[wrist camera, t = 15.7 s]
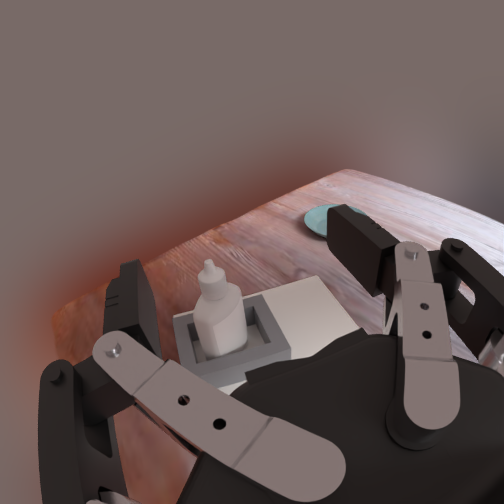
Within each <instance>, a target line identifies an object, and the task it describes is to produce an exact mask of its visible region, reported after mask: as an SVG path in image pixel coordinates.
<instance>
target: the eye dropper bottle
mask: <svg viewBox="0 0 504 504" xmlns="http://www.w3.org/2000/svg"><path fill="white" fill-rule="evenodd" d="M198 281H199V285H200V289H201V293H202V294H201V296H200V297H199V299H198V301H197V303H196V306H195V309H194V313H193V319H194V323H195V327H196V330H197V333H198V336H199V339H200V343H201V346H202V349H203V352H204V354H205V357H206V360H207V361H209V360H212V359H216V358H220V357H223V356H227V355H230V354H234V353H237V352H241V351H244V349H245V347H246V344H247V340H248V332H247V325H246V319H245V312H244V306H243V300H242V294H241V290H240V288H239V287H238V286H237V285H235V284H232V283H229V282H227V281H226V275H225V271H224V270H223V269H222V268H220V267H215V265H214V263H213V261H212V260H211V259H207V260H205V262H204V269H203V270H202V271H201V272H200V273H199V274H198Z"/></svg>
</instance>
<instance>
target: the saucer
mask: <svg viewBox="0 0 504 504" xmlns="http://www.w3.org/2000/svg"><path fill="white" fill-rule="evenodd" d="M334 206H338V204H330V205H322V206H318V207H316V208H313V209H311V210H310V211H308V212H307V213H306V214H305V217H304V222H305V224H306V225H307V226H308V227H309V228H310V229H311V230H312V231H313V232H315V233H317V234H318V235H320V236H323V237H325V238H326V237H327V210H328V208H330V207H334ZM349 207H350V208H351V209H353V210H354V211H355V212H358V213H361V214H363V215H366V214H365V213H364V212H363V211H361V210H359V209H357V208H354V207H351V206H349ZM366 216H367V215H366Z"/></svg>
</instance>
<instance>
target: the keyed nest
mask: <svg viewBox="0 0 504 504" xmlns="http://www.w3.org/2000/svg"><path fill="white" fill-rule="evenodd" d="M242 300H243V306H244V312H245V319H246V325H247V332H248V340H247V344H246V347H245V349H244V351H241V352H237V353H234V354H230V355H227V356H223V357H220V358H216V359H212V360H209V361H207V360H206V357H205V354H204V352H203V349H202V346H201V343H200V339H199V336H198V333H197V330H196V327H195V323H194V319H193V313H194V310H192V311H188V312H184V313H180V314H177V315H173V316H174V318H172V321H173V327H174V333H175V338H176V343H177V349H178V354H179V359H180V364H181V366H182V367H184V368H185V369H187V370H189V371H190V372H192V373H193V374H195V375H196V376H198V377H199V378H201V379H203V380H204V381H206V382H207V383H209V384H211V385H212V386H214V387H216V388H217V389H219V390H221V391H222V392H224V393H226V394H228V395H230V394H231V393H232V392H233V391H234V390H235V389H236V388H238V387H239V386H240V385H242V384H243V383H245V382H246V381H247V380H246V376H245V373H244V372H247V371H250V370H253V369H256V368H259V367H262V366H265V365H268V364H271V363H274V362H278V361H285V360H292V359H299V358H306V357H310V356H313V355H314V354H316V353H317V352H318V351H320V350H321V349H323V348H324V347H325V346H327V345H328V344H330V343H331V342H332V341H334V340H335V339H336V338H339V337H341V336H344V335H346V334H348V333H351V332H353V331H355V330H357V329H360V328H359V327H358V326H357V325H356V323H355V322H354V321H353V319H352V318H351V317H350V316H349V314H348V313H347V312H346V311H345V309H344V308H343V307H342V306H341V304H340V303H339V302H338V301H337V299H336V298H335V297H334V296H333V294H332V293H331V292H330V291H329V289H328V288H327V287H326V286H325V284H324V283H323V282H322V281H321V279H320V278H319V277H318V276H317V275H315V276H312V277H309V278H305V279H302V280H299V281H295V282H292V283H289V284H285V285H282V286H278V287H275V288H272V289H268V290H265V291H261V292H258V293H254V294H251V295H247V296H244V297H242Z"/></svg>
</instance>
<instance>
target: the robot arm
mask: <svg viewBox="0 0 504 504" xmlns="http://www.w3.org/2000/svg"><path fill="white" fill-rule="evenodd" d="M326 239H327V245H328V247H329V250H330V251H331V252H332V254H333V255H334V256H335V257H336V258H337V259H338V260H339V261H340V262H341V263H342V264H343V265H344V266H345V267H346V268H347V270H348V271H349V272H350V273H351V274H352V275H353V276H354V277H355V278H356V279H357V280H358V282H359V283H360V284H361V285H362V286H363V287H364V288H365V289H366V290H367V291H368V293H369V294H370V295H371V296H372V297H375V296H377V295H380V294H382V293H383V294H384V295H385V298H384V308H383V333H382V334H372V335H368V334H367V333H366V332H365V330H364V329H363V328H360V329H357V330H355V331H353V332H351V333H348V334H346V335H344V336H341V337H339V338H336V339H335V340H334V341H332V342H331V343H330V344H328V345H327V346H325V347H324V348H323V349H321V350H320V351H318V352H317V353H316V354H314V355H313V356H310V357H306V358H299V359H292V360H285V361H278V362H274V363H271V364H268V365H265V366H262V367H259V368H256V369H253V370H250V371H247V372H244V373H245V376H246V380H247V381H246V382H245V383H243V384H242V385H240V386H239V387H238V388H236V389H235V390H234V391H233V392H232V393H231V394H230V395H228V394H226V393H224V392H222V391H221V390H219V389H217V388H216V387H214V386H212V385H211V384H209V383H207V382H206V381H204V380H203V379H201V378H199V377H198V376H196V375H195V374H193V373H192V372H190V371H189V370H187V369H185V368H184V367H182V366H181V365H179V364H178V363H176V362H175V361H173V360H171V359H167V360H166V361H165V362H164V361H163V360H162V354H161V347H160V339H159V332H158V324H157V315H156V306H155V300H154V296H153V292H152V289H151V287H150V285H149V282H148V280H147V277H146V275H145V272H144V270H143V267H142V265H141V262H140V260H139V259H136V260H132V261H129V262H126V263H122V264H121V266H120V277H119V278H116V279H112V281H111V282H110V284H109V286H108V287H107V289H106V301H105V311H104V325H103V336H102V337H100V338H99V339H98V340H97V342H96V343H95V345H94V347H93V353H92V354H93V355H92V356H90V357H89V358H87V359H86V360H84V361H82V362H80V363H78V364H76V365H75V366H72V365H71V363H70V362H68V361H66V360H56V361H54V362H52V363H51V364H49V365H48V366H47V367H46V368H45V370H44V371H43V373H42V376H41V380H40V391H39V410H38V454H39V472H40V483H41V493H42V501H43V504H142V503H140V502H138V501H136V500H134V499H131V498H129V497H128V493H127V489H126V484H125V480H124V475H123V471H122V466H121V461H120V456H119V450H118V445H117V439H116V433H115V426H114V419H113V415H115V414H117V413H118V412H120V411H122V410H124V409H126V408H128V407H129V406H131V405H133V406H134V407H136V408H137V409H138V410H139V411H140V412H141V413H142V414H143V415H145V416H146V417H147V418H148V419H149V420H150V421H152V422H153V423H154V424H155V425H156V426H158V427H159V428H160V429H161V430H162V431H164V432H165V433H166V434H167V435H168V436H170V437H171V438H172V439H173V440H174V441H175V442H177V443H178V444H179V445H180V446H182V447H183V448H184V449H185V450H187V451H188V452H189V453H191V454H192V455H194V456H195V457H196V458H197V460H196V462H195V465H194V467H193V469H192V471H191V473H190V475H189V478H188V480H187V482H186V484H185V486H184V488H183V491H182V493H181V495H180V497H179V499H178V501H177V503H176V504H504V276H503V275H501V274H500V273H499V272H498V271H497V270H496V269H495V268H494V267H493V266H492V265H490V264H489V263H488V262H487V261H486V260H485V259H484V258H482V257H481V256H480V255H479V254H478V253H477V252H475V251H474V250H473V249H472V248H471V247H469V246H468V245H467V244H466V243H464V242H463V241H461V240H458V239H454V238H447V239H445V240H443V241H442V244H441V248H440V250H435V251H427V250H426V249H425V248H424V247H423V246H421V245H420V244H418V243H415V242H409V241H406V242H400V241H399V240H397V239H396V238H395V237H394V236H393V235H391V234H390V233H389V232H388V231H386V230H385V229H384V228H382V227H381V226H380V225H379V224H377V223H375V221H373V220H372V219H371V218H370V217H368V216H366V215H363V214H361V213H358V212H355V211H354V210H353V209H351V208H350V207H349V206H347V205H346V204H342V205H338V206H334V207H330V208H328V210H327V237H326ZM461 281H463V282H464V283H465V284H466V285H467V286H468V287H469V288H470V289H471V290H472V291H473V292H474V294H475V304H474V306H473V305H472V304H471V303H470V302H469V301H468V300H467V299H466V298H465V297H464V296H463V295H462V294H461V293H460V292H459V291H458V288H459V286H460V283H461ZM448 324H449V325H450V327H451V328H452V329H453V330H454V331H455V332H456V334H457V335H458V336H459V337H460V338H461V340H462V341H463V342H464V343H465V345H466V346H467V347H468V348H469V350H470V351H471V352H472V353H473V355H474V356H475V357H476V358H477V360H478V361H479V364H478V363H474V362H471V361H468V360H465V359H462V358H459V357H456V356H453V355H452V349H451V341H450V333H449V325H448Z"/></svg>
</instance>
